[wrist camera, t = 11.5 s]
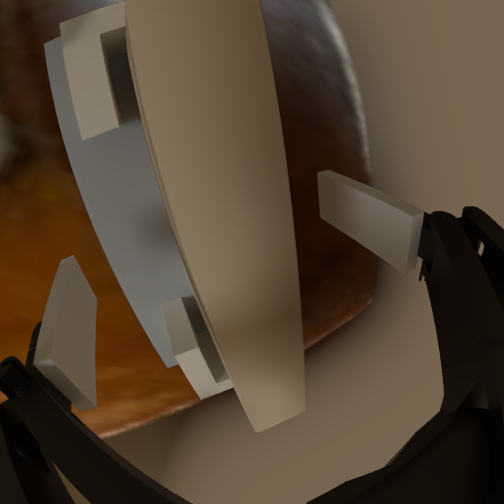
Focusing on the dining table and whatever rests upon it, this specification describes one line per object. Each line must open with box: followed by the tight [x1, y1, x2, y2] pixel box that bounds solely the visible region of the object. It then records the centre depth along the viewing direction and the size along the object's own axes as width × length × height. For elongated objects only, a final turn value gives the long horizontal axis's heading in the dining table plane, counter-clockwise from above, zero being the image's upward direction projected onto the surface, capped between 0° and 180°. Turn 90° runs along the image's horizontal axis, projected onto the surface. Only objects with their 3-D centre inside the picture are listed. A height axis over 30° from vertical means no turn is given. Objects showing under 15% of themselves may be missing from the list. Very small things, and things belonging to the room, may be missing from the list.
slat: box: [125, 0, 306, 433], centre depth 13 cm, size 3×18×10 cm, turn 10°
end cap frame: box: [44, 1, 233, 399], centre depth 15 cm, size 12×25×6 cm, turn 10°
